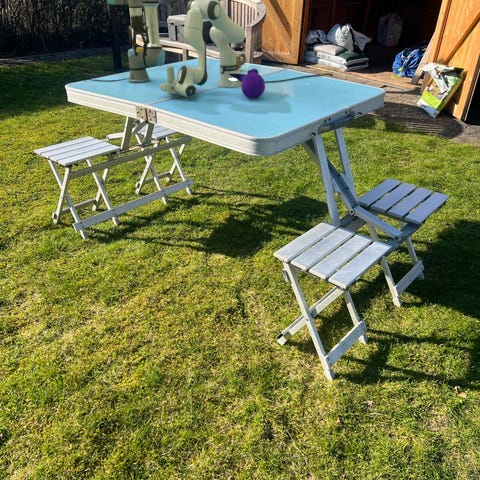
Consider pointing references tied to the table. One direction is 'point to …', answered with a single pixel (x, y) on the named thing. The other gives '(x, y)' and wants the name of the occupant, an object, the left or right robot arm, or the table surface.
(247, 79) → the toy
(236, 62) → the beige patterned figurine
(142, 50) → the lid
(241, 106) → the table surface
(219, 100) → the table surface
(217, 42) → the right robot arm
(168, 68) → the jar
